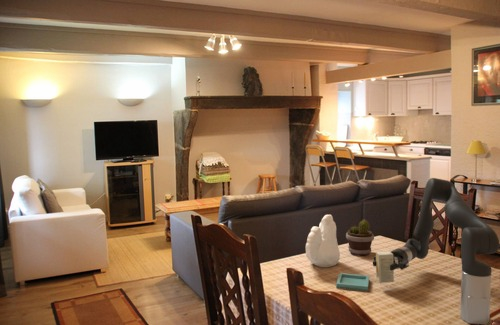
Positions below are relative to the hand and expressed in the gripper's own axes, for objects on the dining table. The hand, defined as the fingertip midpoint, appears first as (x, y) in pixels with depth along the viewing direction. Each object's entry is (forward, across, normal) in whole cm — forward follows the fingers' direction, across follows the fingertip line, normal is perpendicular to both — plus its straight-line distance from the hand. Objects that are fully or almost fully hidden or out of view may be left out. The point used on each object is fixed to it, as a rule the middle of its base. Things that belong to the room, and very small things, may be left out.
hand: (382, 266), depth 176 cm
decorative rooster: (-7, -37, +10) cm, 39 cm away
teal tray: (+2, -13, +11) cm, 17 cm away
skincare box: (-2, 0, +7) cm, 8 cm away
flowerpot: (-38, -33, +10) cm, 52 cm away
